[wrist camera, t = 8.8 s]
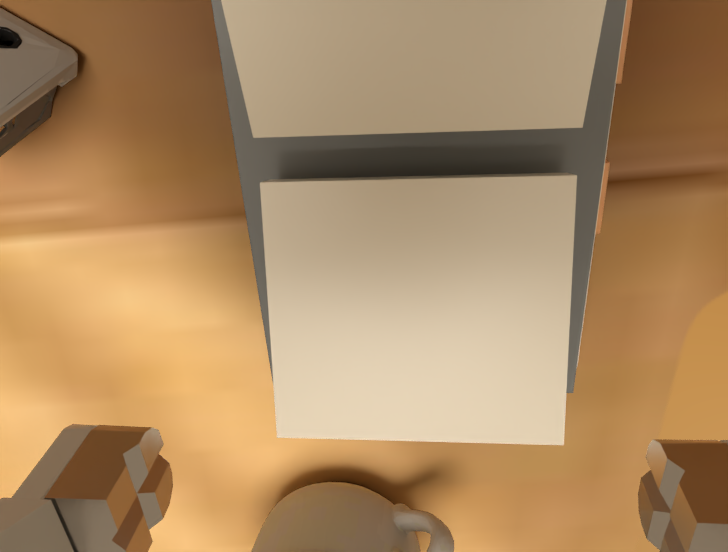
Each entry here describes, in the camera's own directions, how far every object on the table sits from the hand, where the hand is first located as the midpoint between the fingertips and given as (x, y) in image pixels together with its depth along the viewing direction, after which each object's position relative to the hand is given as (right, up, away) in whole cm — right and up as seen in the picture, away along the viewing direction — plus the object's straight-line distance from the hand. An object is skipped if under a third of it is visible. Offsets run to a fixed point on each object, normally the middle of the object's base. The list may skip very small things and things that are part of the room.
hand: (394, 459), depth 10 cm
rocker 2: (+2, +2, +13) cm, 13 cm away
